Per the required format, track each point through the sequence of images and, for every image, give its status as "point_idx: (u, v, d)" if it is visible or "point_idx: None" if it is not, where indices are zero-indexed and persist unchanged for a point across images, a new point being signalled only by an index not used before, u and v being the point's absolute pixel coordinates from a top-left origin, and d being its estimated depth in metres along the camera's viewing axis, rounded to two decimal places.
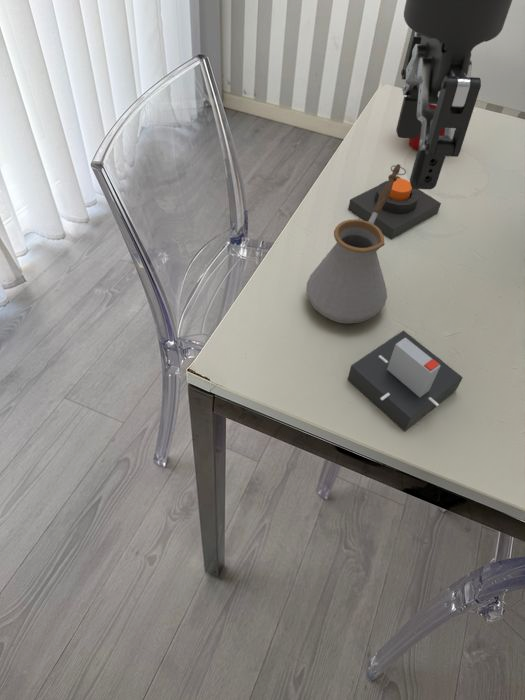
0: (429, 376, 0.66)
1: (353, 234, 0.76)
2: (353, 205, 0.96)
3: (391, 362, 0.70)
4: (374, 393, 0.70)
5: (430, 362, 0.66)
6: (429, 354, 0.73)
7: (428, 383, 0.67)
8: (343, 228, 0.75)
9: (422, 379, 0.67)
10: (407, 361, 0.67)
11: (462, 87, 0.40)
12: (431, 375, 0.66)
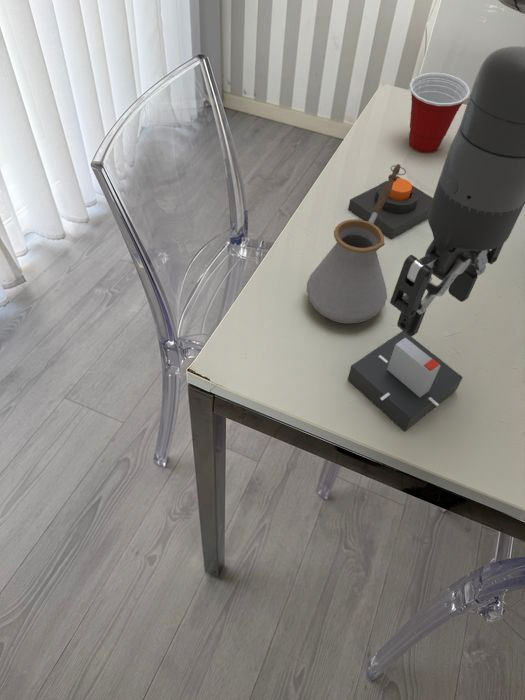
0: (429, 376, 0.66)
1: (353, 234, 0.76)
2: (353, 205, 0.96)
3: (391, 362, 0.70)
4: (374, 393, 0.70)
5: (430, 362, 0.66)
6: (429, 354, 0.73)
7: (428, 383, 0.67)
8: (343, 228, 0.75)
9: (422, 379, 0.67)
10: (407, 361, 0.67)
11: (413, 268, 0.51)
12: (431, 375, 0.66)
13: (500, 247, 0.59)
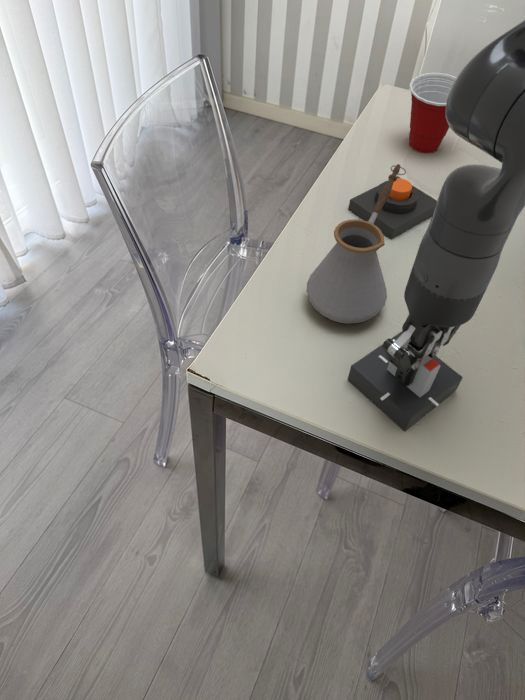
0: (429, 376, 0.66)
1: (353, 234, 0.76)
2: (353, 205, 0.96)
3: None
4: (374, 393, 0.70)
5: (430, 362, 0.66)
6: None
7: (428, 383, 0.67)
8: (343, 228, 0.75)
9: (422, 379, 0.67)
10: None
11: (390, 352, 0.60)
12: (431, 375, 0.66)
13: (455, 330, 0.66)
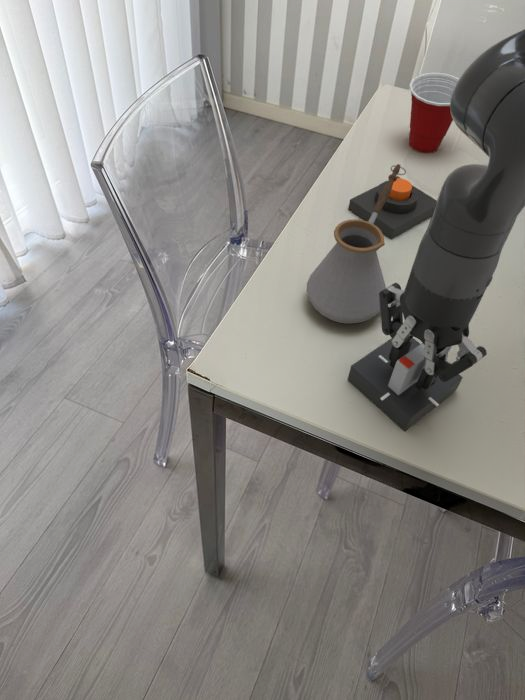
0: (395, 365, 0.66)
1: (353, 234, 0.76)
2: (353, 205, 0.96)
3: None
4: (374, 393, 0.70)
5: (408, 360, 0.66)
6: None
7: (395, 376, 0.68)
8: (343, 228, 0.75)
9: None
10: None
11: None
12: (397, 367, 0.66)
13: (451, 373, 0.62)
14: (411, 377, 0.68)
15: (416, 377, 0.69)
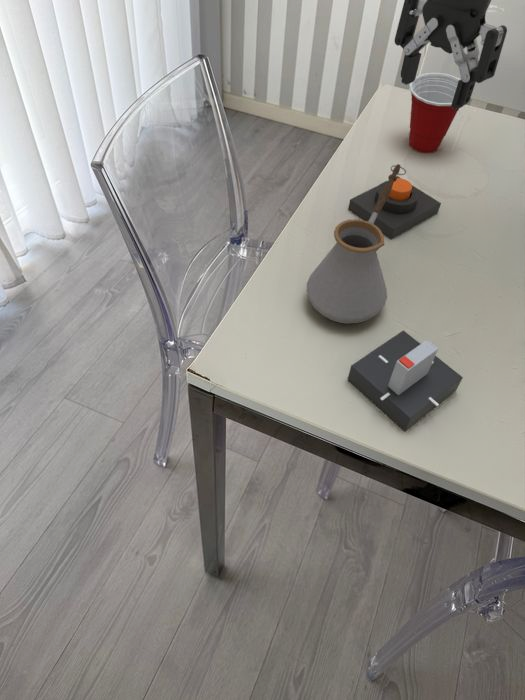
0: (395, 365, 0.66)
1: (353, 234, 0.76)
2: (353, 205, 0.96)
3: None
4: (374, 393, 0.70)
5: (408, 360, 0.66)
6: None
7: (395, 376, 0.68)
8: (343, 228, 0.75)
9: None
10: None
11: None
12: (397, 367, 0.66)
13: (483, 64, 0.68)
14: (411, 377, 0.68)
15: (416, 377, 0.69)
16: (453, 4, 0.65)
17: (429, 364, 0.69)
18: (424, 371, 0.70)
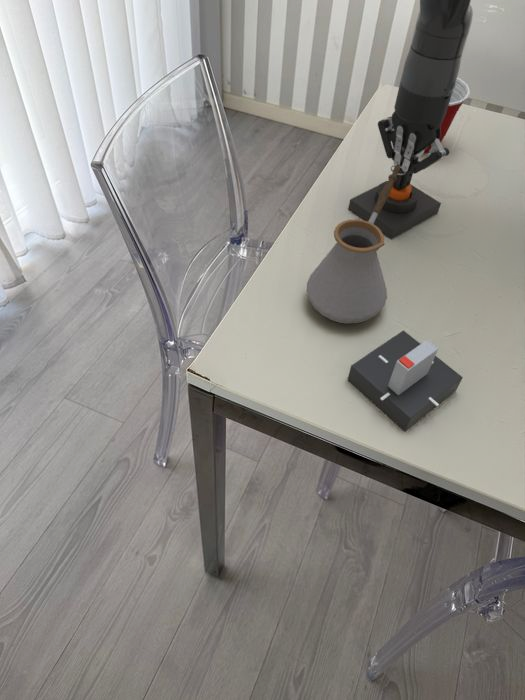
0: (395, 365, 0.66)
1: (353, 234, 0.76)
2: (353, 205, 0.96)
3: None
4: (374, 393, 0.70)
5: (408, 360, 0.66)
6: None
7: (395, 376, 0.68)
8: (343, 228, 0.75)
9: None
10: None
11: None
12: (397, 367, 0.66)
13: (421, 166, 0.87)
14: (411, 377, 0.68)
15: (416, 377, 0.69)
16: (413, 120, 0.81)
17: (429, 364, 0.69)
18: (424, 371, 0.70)
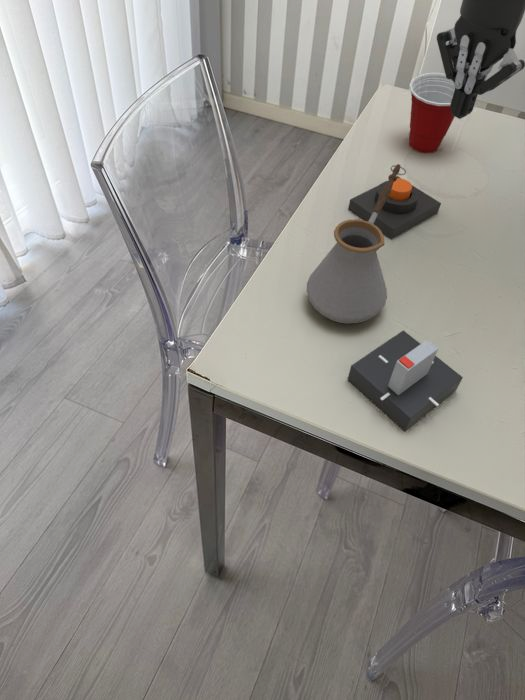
0: (395, 365, 0.66)
1: (353, 234, 0.76)
2: (353, 205, 0.96)
3: None
4: (374, 393, 0.70)
5: (408, 360, 0.66)
6: None
7: (395, 376, 0.68)
8: (343, 228, 0.75)
9: None
10: None
11: None
12: (397, 367, 0.66)
13: (490, 84, 0.73)
14: (411, 377, 0.68)
15: (416, 377, 0.69)
16: (484, 23, 0.68)
17: (429, 364, 0.69)
18: (424, 371, 0.70)
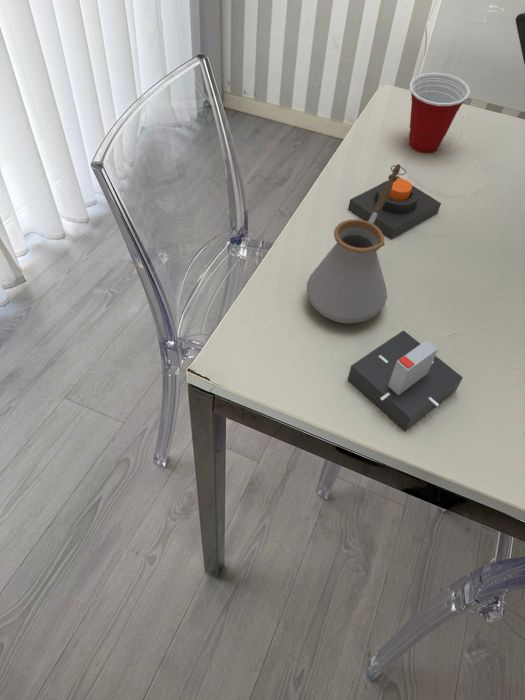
0: (395, 365, 0.66)
1: (353, 234, 0.76)
2: (353, 205, 0.96)
3: None
4: (374, 393, 0.70)
5: (408, 360, 0.66)
6: None
7: (395, 376, 0.68)
8: (343, 228, 0.75)
9: None
10: None
11: None
12: (397, 367, 0.66)
13: None
14: (411, 377, 0.68)
15: (416, 377, 0.69)
16: None
17: (429, 364, 0.69)
18: (424, 371, 0.70)
